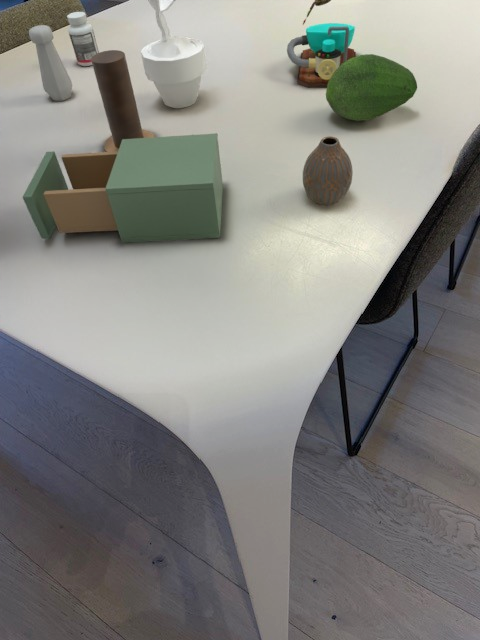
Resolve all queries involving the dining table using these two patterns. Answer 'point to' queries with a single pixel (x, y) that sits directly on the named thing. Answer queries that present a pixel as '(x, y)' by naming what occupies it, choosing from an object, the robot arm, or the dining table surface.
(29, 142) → the dining table surface
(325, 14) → the dining table surface
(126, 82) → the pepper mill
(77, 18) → the pill bottle
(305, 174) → the vase
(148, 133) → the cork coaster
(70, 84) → the salt shaker
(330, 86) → the fruit
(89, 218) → the drawer
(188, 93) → the potted plant
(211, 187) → the cabinet
